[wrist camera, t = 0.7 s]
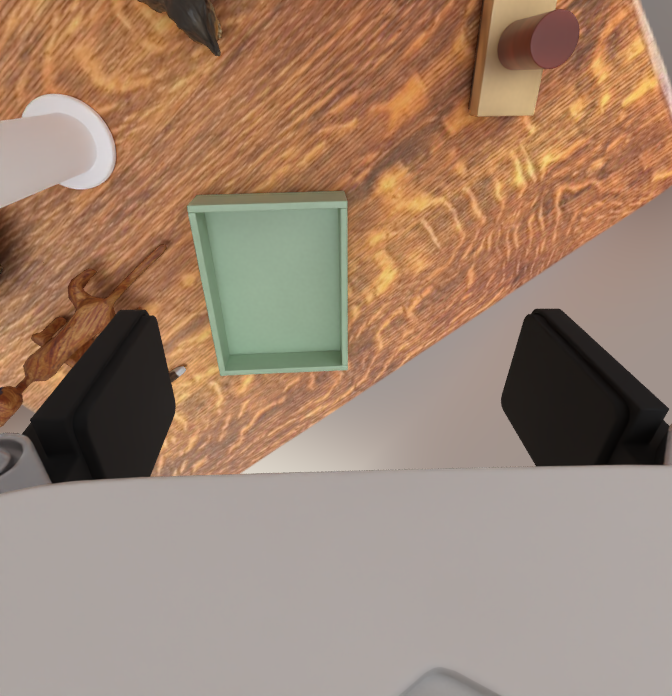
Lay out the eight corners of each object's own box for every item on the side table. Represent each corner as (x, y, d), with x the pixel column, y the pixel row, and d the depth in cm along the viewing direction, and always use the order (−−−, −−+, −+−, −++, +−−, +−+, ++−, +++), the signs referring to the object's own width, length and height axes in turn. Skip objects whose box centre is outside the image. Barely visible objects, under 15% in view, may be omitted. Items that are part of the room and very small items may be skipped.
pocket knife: (183, 360, 48) (178, 371, 46) (189, 366, 48) (184, 376, 46) (96, 413, 51) (89, 425, 49) (102, 418, 51) (95, 430, 50)
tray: (196, 194, 38) (186, 205, 35) (344, 190, 39) (347, 200, 35) (226, 355, 47) (220, 375, 44) (345, 350, 48) (347, 370, 45)
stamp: (482, -27, 31) (536, -60, 24) (543, -28, 31) (615, -60, 24) (464, 113, 36) (504, 123, 29) (517, 112, 36) (570, 121, 29)
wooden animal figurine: (140, 213, 39) (68, 271, 27) (196, 265, 42) (153, 338, 30) (28, 326, 44) (-71, 414, 33) (85, 366, 47) (12, 459, 36)
